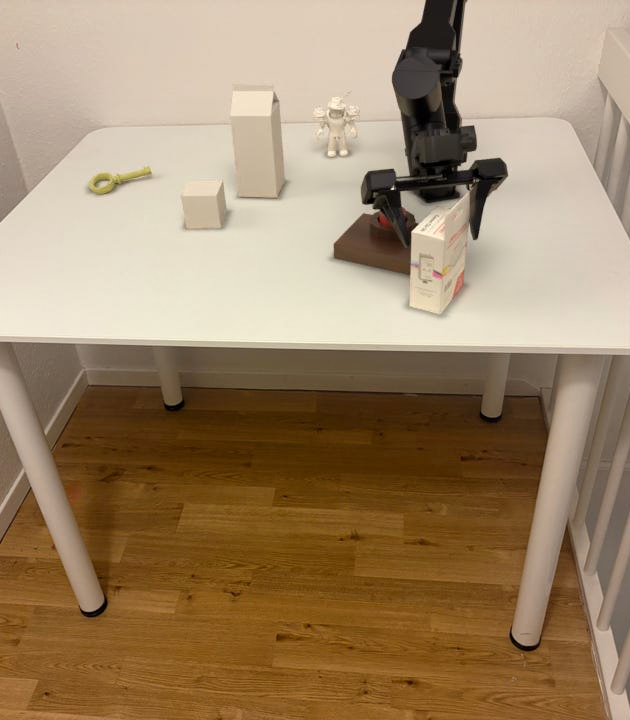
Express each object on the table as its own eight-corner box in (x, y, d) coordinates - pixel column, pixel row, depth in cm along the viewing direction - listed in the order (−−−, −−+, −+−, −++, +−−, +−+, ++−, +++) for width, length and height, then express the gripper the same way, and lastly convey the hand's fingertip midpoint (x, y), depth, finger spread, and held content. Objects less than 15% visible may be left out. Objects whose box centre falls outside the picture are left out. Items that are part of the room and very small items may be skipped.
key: (156, 178, 140) (154, 167, 139) (96, 196, 135) (93, 186, 134) (141, 167, 145) (139, 156, 144) (83, 184, 140) (80, 174, 139)
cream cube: (227, 212, 127) (223, 180, 123) (220, 228, 122) (216, 195, 119) (193, 212, 128) (188, 180, 124) (186, 228, 123) (180, 195, 119)
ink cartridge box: (431, 277, 106) (437, 183, 97) (464, 285, 104) (473, 189, 95) (406, 306, 100) (411, 209, 91) (440, 316, 98) (448, 217, 89)
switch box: (363, 227, 119) (363, 202, 117) (438, 242, 114) (440, 216, 111) (333, 259, 112) (333, 233, 109) (413, 276, 106) (414, 249, 104)
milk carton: (277, 198, 130) (268, 91, 118) (239, 197, 131) (226, 91, 120) (285, 182, 135) (277, 77, 124) (248, 181, 137) (237, 77, 125)
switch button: (385, 213, 114) (385, 203, 113) (409, 217, 112) (409, 207, 111) (375, 224, 111) (375, 214, 110) (399, 229, 110) (400, 218, 108)
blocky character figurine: (359, 148, 146) (359, 88, 138) (360, 156, 142) (360, 94, 135) (314, 151, 146) (311, 91, 139) (314, 159, 143) (312, 97, 136)
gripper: (364, 110, 89) (381, 231, 87) (512, 95, 90) (532, 216, 88) (354, 148, 100) (368, 257, 98) (485, 135, 101) (503, 242, 99)
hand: (441, 243), depth 96 cm, fingers open, 9 cm apart
